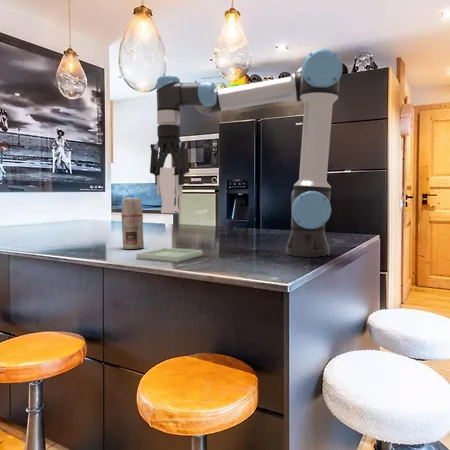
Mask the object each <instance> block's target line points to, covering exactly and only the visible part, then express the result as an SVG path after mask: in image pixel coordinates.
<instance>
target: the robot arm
mask: <svg viewBox="0 0 450 450" xmlns="http://www.w3.org/2000/svg"><path fill="white" fill-rule="evenodd" d="M342 74H343V62H342V60H341V58H340V56H339V55H338V54H337V53H336V52H335V51H333V50H330V49H327V48H319V49H316V50H314V51H311V53H309V54H308V55H307V56H306V57H305V59H304V61H303V62H302V66H301V70H299V71H296V72H293V73H291V74H290V75H289V76H285V77H280V78H275V79H274V78H273V79H269V80H262V81H258V82H252V83H251V82H250V83H245V84H240V85H235V86H228V87H222V88H218V89H217V88H216V87H217V86H216V84H215V82H213V81H198V82H197V81H193V82H191V81H190V82H181V80H180V78H179V77H178V76H176V75H167V74H166V75H165V74H164V75H161V76H159V77H158V78H157V80H156V111H157V112H156V124H157V125H158V126H157V127H156V128H157V139H158V140H157V141H156V143H151V144H150V145H149V146H150V147H149V148H150V151H151V152H150V164H149V166H150V167H149V173H150V174H152V175H154V178H155V179H154V181H155V182H154V183H155V185H156V195H157V196H161V192H160V186H159V171H160V168H162V167H164V166H165V162H166V160H167V157H168V155H169V154H170V155H171V157H172V159H173V162H174V167H175V168H176V169H177V172H178V173H177V175H176V195H178V196H182V195H183V185H184V184H185V175H186V174H188V173H190V163H189V162H190V161H189V156H188V154H189V153H188V148H189V143H188V142H185V141H181V139H180V138H181V127H180V125H181V107H182V108H186V107H187V108H189V107H194V108H195V109H196V110H197V111H198V112H199V113H200V114H201V115H205V116H212V115H214V114H216V113H218V112H223V111H229V110H230V111H231V110H235V109H241V108H248V107H253V106H259V105H260V106H261V105H265V104H273V103H278V102H279V103H280V102H284V101H291V100H292V101H294V102H295V103H296V102H297V103H298V102H303V104H304V106H303V119H302V134H301V148H300V159H299V160H300V161H299V163H300V164H299V173H298V174H299V177H298V180H297V181H296V182H295V183H294V184H293V189H292V191H291V196H290V201H291V217H290V218H291V219H290V223H291V224H290V229H291V230H290V235H289V237H288V241H287V244H286V247H285V254H286V255H288V256H291V257H292V256H293V257H298V258H299V257H301V258H320V257H319V256H323V257H327V256H326V255H328V256H330V246H329V243H328V239H327V236H326V229H325V228H326V223H327V221H329V219H330V217H331V214H332V206H331V193H332V186H331V185H330V184H329V182H328V181H327V180H328V166H329V155H330V153H329V152H330V143H331V128H332V118H333V117H332V116H333V104H334V103H335V102H336V101H337V100H338V99H339V92H340V89H339V88H340V79H341V77H342ZM179 148H180V149H179Z"/></svg>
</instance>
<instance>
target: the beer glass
mask: <svg viewBox="0 0 450 450" xmlns="http://www.w3.org/2000/svg"><path fill="white" fill-rule="evenodd" d="M177 173H178V172H177V169H176V166H174V167H173V166H172V167H170V166H168V167H162V168H160V171H159V186H160V192H161V195H160V198H161V208H160V213H161V214H178V213H180V210H179V204H178V202H179V195H176V175H177Z"/></svg>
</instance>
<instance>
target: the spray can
mask: <svg viewBox="0 0 450 450" xmlns="http://www.w3.org/2000/svg"><path fill="white" fill-rule="evenodd" d="M143 214H144V213H143V205H142V200H141V198H140V197H124V198H122V200H121V233H122V245H123V248H122V249H123V250H137V249H143V248H144V247H145V246H144V226H143V225H144V220H143V219H144V217H143V216H144V215H143Z"/></svg>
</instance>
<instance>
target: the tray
mask: <svg viewBox="0 0 450 450" xmlns="http://www.w3.org/2000/svg"><path fill="white" fill-rule="evenodd" d="M203 254H204V253H203V250H201V249H190V248H189V249H186V248H174V247H161V248H156V249H151V250H148V251H142V252H138V253H136V260H144V261H153V262H166V263H176V264H178V263H181V261H182V262H184V261H188V260H193V259H195V258H198V257H203Z"/></svg>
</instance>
